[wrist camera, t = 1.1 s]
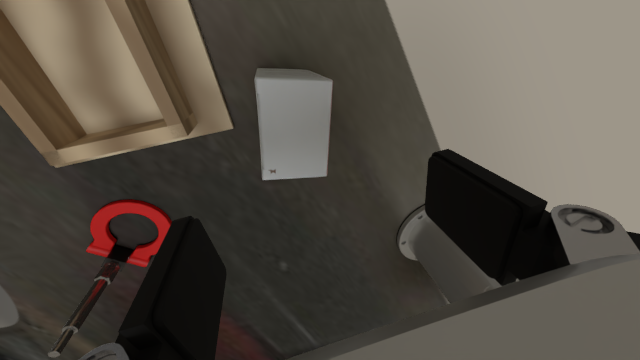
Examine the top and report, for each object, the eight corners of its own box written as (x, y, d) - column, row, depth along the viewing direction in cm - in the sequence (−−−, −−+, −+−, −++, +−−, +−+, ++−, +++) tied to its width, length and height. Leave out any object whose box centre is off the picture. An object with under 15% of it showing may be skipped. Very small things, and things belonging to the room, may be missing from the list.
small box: (307, 139, 30) (328, 179, 21) (261, 140, 29) (261, 183, 20) (309, 68, 26) (336, 79, 17) (255, 66, 25) (253, 76, 16)
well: (165, -69, 19) (137, -103, 15) (234, 126, 27) (229, 141, 23) (-98, -35, 17) (-218, -63, 13) (61, 164, 25) (20, 188, 21)
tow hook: (111, 186, 28) (82, 243, 30) (17, 271, 17) (-19, 354, 19) (185, 214, 32) (155, 263, 34) (150, 299, 20) (107, 365, 22)
